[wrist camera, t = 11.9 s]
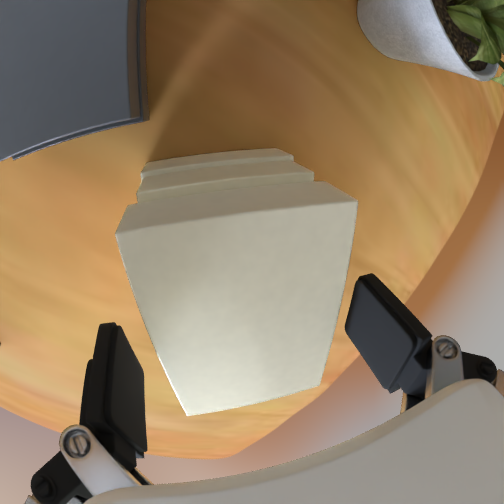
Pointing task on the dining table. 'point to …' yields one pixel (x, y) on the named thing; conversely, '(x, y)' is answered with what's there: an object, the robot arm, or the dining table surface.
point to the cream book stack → (219, 173)
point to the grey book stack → (69, 70)
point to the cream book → (240, 287)
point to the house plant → (438, 33)
